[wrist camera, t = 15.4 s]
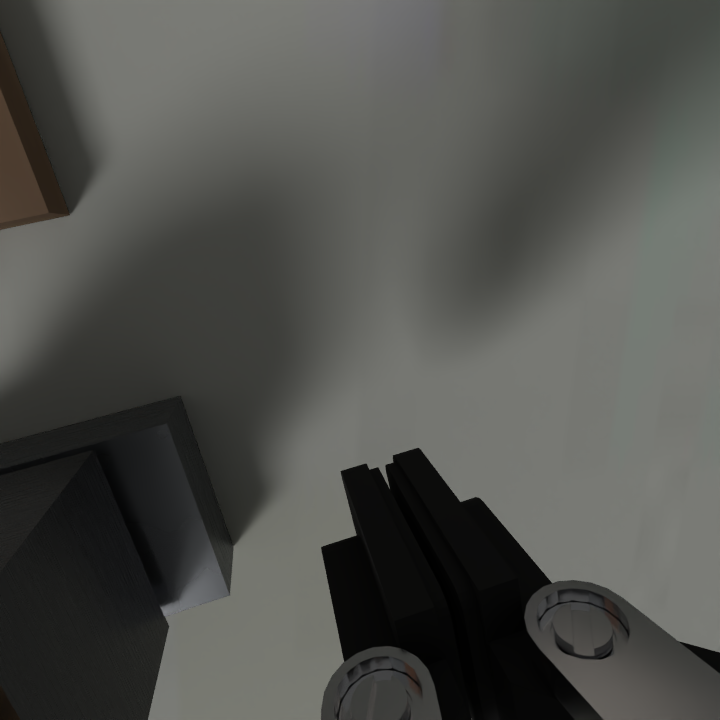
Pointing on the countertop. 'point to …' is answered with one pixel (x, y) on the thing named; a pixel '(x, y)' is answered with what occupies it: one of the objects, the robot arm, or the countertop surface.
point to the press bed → (23, 158)
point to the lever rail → (151, 495)
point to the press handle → (73, 599)
